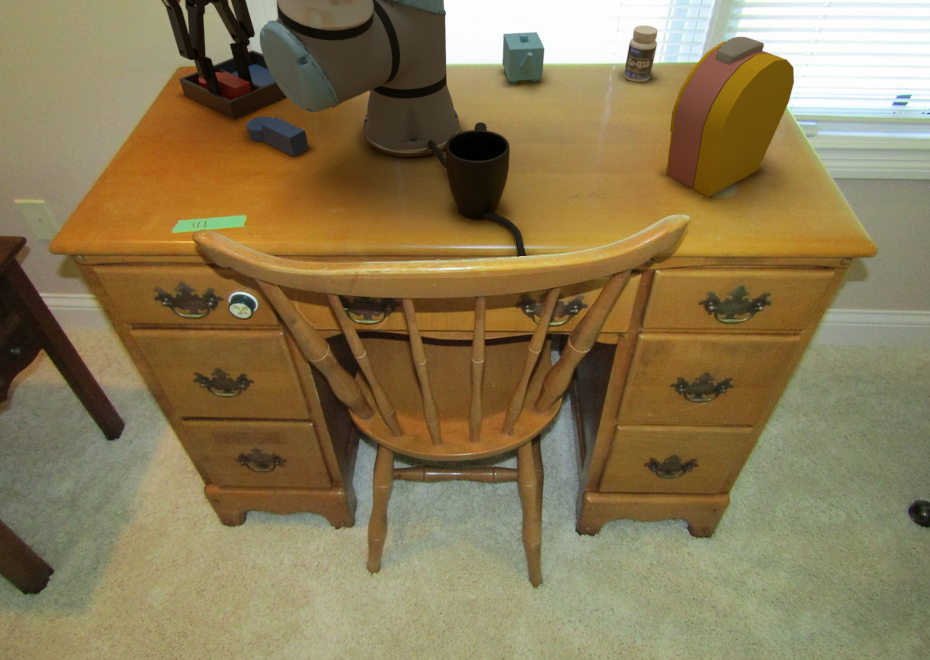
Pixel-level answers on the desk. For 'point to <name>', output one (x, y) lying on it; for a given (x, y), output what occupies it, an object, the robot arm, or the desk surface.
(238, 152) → the desk surface
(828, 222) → the desk surface
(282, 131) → the blue round-headed block
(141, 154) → the desk surface
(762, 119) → the alarm clock
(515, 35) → the teapot
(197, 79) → the organizer
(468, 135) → the mug
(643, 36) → the pill bottle
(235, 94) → the red rounded-end block
